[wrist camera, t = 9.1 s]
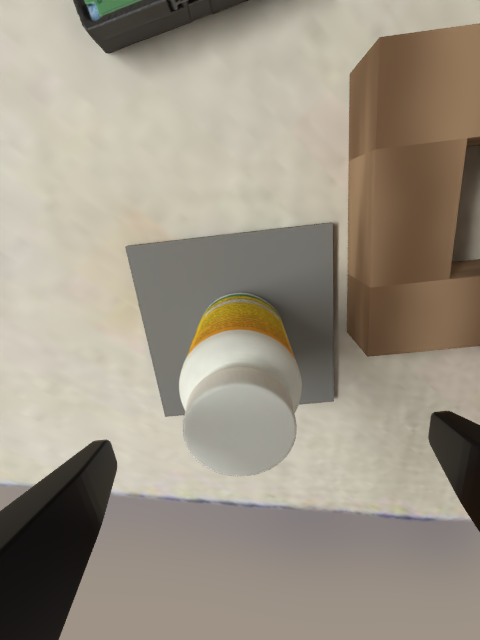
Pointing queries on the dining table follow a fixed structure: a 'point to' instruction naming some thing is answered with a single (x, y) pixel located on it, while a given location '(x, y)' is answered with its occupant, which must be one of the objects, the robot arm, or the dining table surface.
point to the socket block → (412, 192)
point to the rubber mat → (239, 277)
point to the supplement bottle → (240, 388)
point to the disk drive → (140, 18)
